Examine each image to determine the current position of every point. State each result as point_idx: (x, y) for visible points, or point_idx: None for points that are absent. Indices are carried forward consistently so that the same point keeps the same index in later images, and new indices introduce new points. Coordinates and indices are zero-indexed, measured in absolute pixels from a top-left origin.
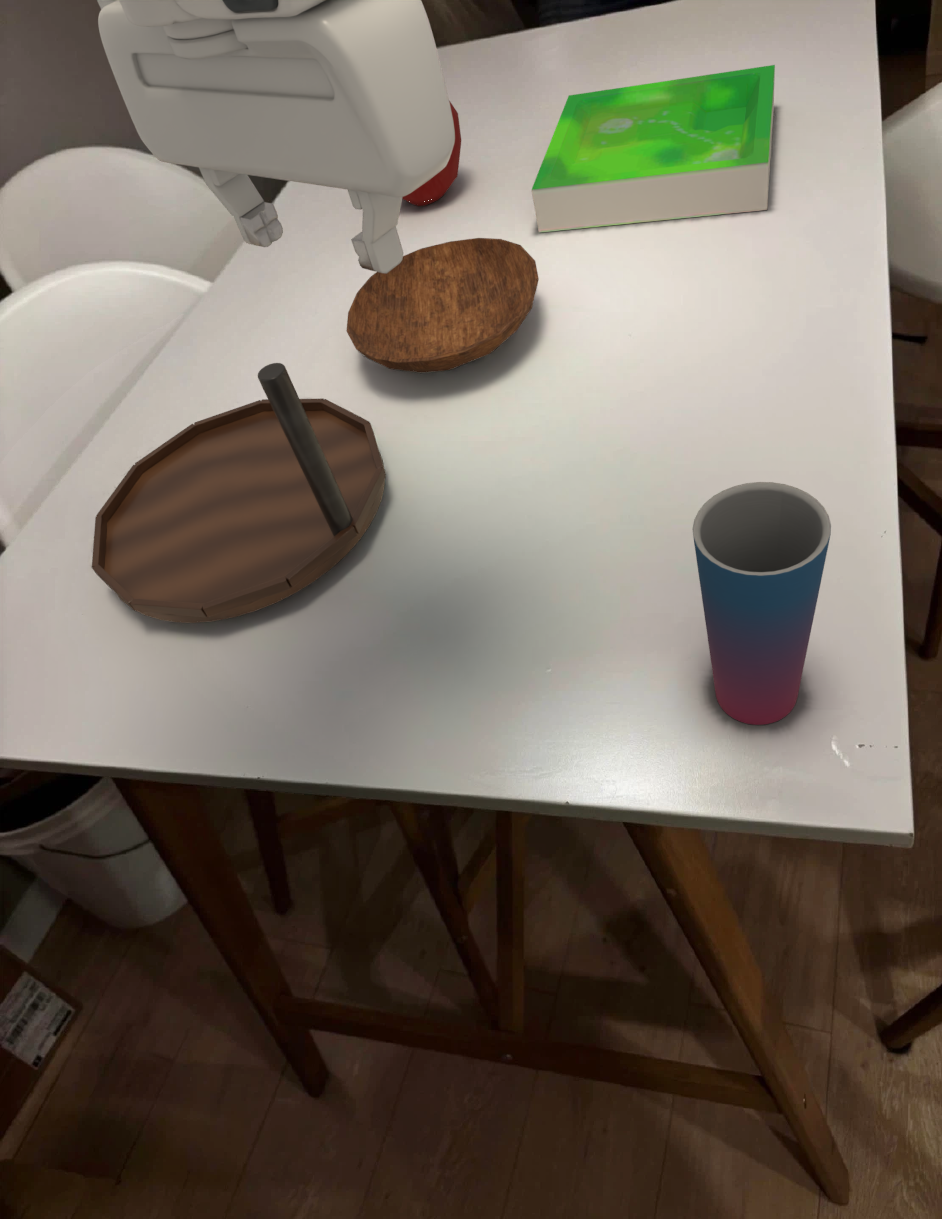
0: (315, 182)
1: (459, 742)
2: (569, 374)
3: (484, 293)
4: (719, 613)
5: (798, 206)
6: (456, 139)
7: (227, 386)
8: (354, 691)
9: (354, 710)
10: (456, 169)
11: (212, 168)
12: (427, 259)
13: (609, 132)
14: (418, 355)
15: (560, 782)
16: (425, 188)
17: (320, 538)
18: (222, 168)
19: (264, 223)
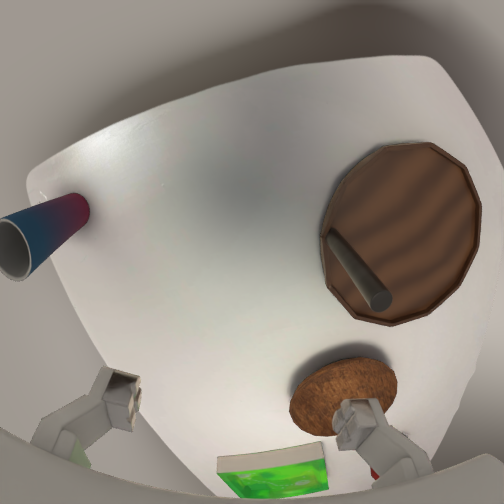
0: (98, 477)
1: (186, 124)
2: (259, 376)
3: (330, 410)
4: (33, 210)
5: (205, 457)
6: (371, 468)
7: (453, 321)
8: (266, 131)
9: (259, 119)
10: None
11: (396, 485)
12: None
13: (303, 480)
14: (353, 370)
15: (127, 127)
16: None
17: (344, 225)
18: (370, 494)
19: (346, 426)
